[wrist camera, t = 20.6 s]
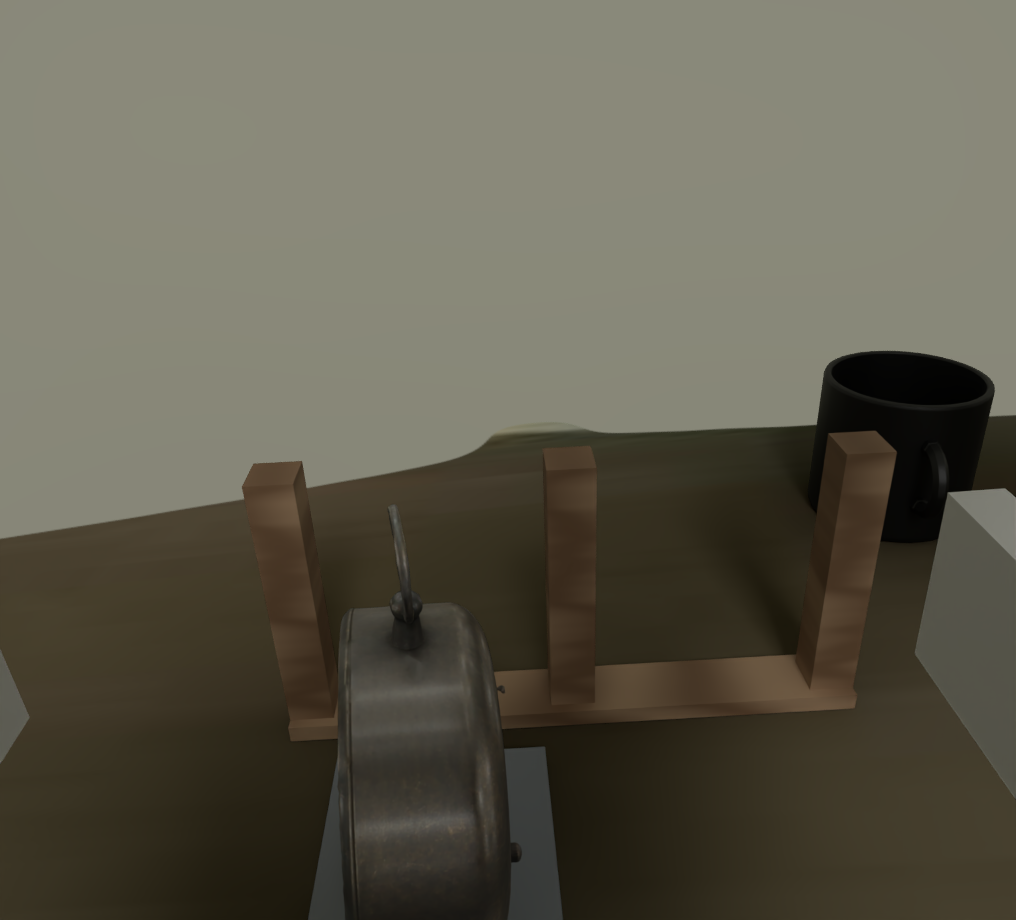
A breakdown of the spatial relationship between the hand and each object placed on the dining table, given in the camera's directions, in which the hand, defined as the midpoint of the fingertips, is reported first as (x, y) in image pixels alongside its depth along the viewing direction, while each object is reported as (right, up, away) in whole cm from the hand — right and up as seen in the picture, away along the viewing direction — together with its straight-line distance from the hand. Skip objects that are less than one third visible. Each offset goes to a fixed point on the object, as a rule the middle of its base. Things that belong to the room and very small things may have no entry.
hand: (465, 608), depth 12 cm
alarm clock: (-2, -14, +19) cm, 24 cm away
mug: (+25, -2, +43) cm, 49 cm away
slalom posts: (+4, -9, +29) cm, 30 cm away
